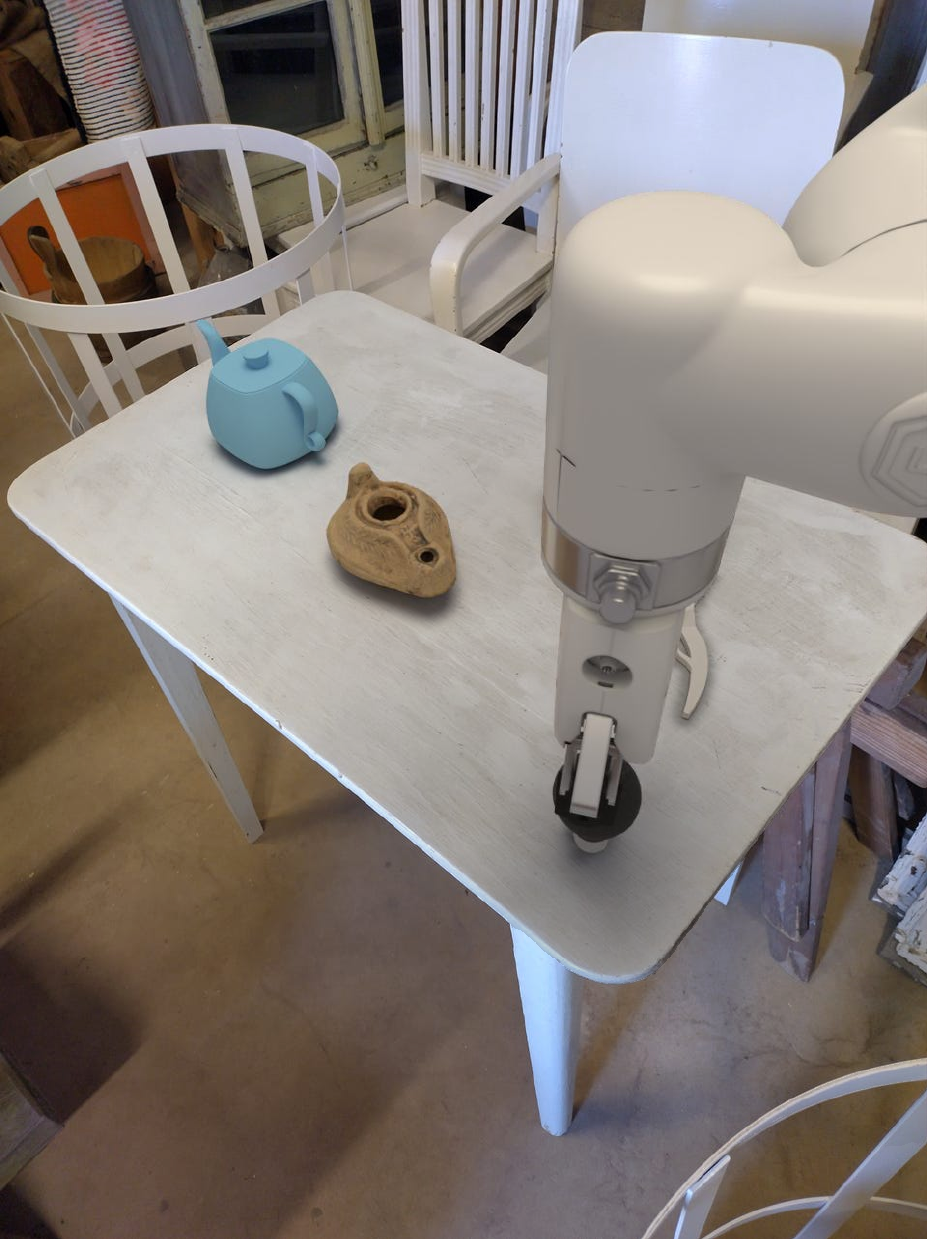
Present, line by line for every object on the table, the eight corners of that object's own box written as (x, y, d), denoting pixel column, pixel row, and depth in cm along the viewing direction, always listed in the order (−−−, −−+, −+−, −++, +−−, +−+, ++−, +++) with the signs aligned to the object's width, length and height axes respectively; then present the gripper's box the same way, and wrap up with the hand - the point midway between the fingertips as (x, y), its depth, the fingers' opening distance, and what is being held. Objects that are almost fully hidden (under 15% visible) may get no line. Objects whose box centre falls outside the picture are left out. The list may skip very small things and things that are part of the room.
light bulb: (588, 790, 60) (597, 716, 52) (647, 843, 57) (666, 773, 49) (533, 839, 58) (534, 770, 50) (592, 897, 55) (603, 833, 47)
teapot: (243, 290, 88) (354, 348, 79) (267, 376, 96) (371, 436, 88) (144, 342, 82) (252, 410, 74) (179, 428, 91) (280, 498, 82)
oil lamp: (416, 641, 70) (405, 579, 63) (307, 557, 77) (288, 493, 71) (503, 570, 74) (501, 505, 68) (393, 497, 81) (382, 432, 75)
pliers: (574, 662, 65) (642, 541, 73) (573, 674, 66) (640, 553, 74) (694, 709, 62) (751, 577, 70) (690, 720, 63) (747, 589, 71)
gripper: (711, 718, 28) (646, 900, 41) (737, 410, 38) (678, 635, 51) (496, 677, 29) (500, 866, 42) (577, 392, 39) (560, 615, 53)
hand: (598, 740), depth 47 cm, fingers open, 9 cm apart
